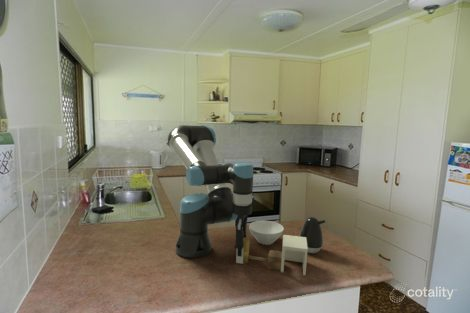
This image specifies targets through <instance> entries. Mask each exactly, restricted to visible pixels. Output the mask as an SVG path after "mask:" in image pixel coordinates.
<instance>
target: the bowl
mask: <svg viewBox="0 0 470 313" xmlns="http://www.w3.org/2000/svg"><path fill="white" fill-rule="evenodd" d="M248 229H249V232H250V234H251V235H252V236H253V238H255V240H256V242H258V243H259V244H261V245H264V244H265V245H266V246H269V245H273V244H274V243H275V242H276V241H277V240H278V239H279V238H280V237H282V236H283V233H284V230H285V228H284V226H283V225H282V224H280V223H278V222H275V221H270V220H256V221H252V222H251V223H250V224H248ZM265 245H264V246H265Z"/></svg>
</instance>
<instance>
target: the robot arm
mask: <svg viewBox="0 0 470 313" xmlns="http://www.w3.org/2000/svg"><path fill="white" fill-rule="evenodd" d="M216 143H217V138H216V132H215V130H214V128H212V127H211V126H210V125H209V126H208V125H204V124H203V125H202V124H201V125H188V124H187V125H186V124H185V125H184V124H183V125H178V126H176V127H174V128H173V129H172V130H171V131H170V132H169V134H168V135H167V145H168V146H169V148H170V149H171V150H172V152H175V154H176V155H177V157H178V158H179V161H180V162H182V165H183V166H184V167H185V169H186V171H185V179H186V182H187V184H188V185H189V186H190V187H194V186H195V187H201V186H206V189H207V194H206V193H203V192H200V193H199V192H197V193H191V194H187V195H186V196H184V197H183V198H181V200H180V203H179V204H180V206H179V233H178V237H177V240H176V242H175V246H174V247H175V249H174V250H175V251H174V252H175V253H176V254H177V256H180V257H182V258H187V259H197V258H202V257H205V256H207V255H208V254H210V253H211V251H212V242H211V241H212V240H211V238H210V236H209V229H208V228H209V225H215V224H221V223H230V222H232V221H235V223H236V224H235V245H234V248H235V249H236V251H235V252H236V255H235V256H236V257H235V259H236V260H235V264H242V265H243V254H244V247H243V240H244V237H246V238H247V226H248V216H250V215H251V214H252V212H253V204H252V203H253V199H254V198H255V197H254V195H253V187H254V166H253V164H252V163H250V162H249V163H248V162H235V163H234V164H233V163H228V162H225V163H222V164H219V162H218V161H217V160H218V159H217V157H216V155H215V152H214V149H215V148H214V147H215V146H216ZM226 184H231V185H232V189H231V187H229V186H227V185H226Z"/></svg>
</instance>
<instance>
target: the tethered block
mask: <svg viewBox="0 0 470 313" xmlns="http://www.w3.org/2000/svg"><path fill="white" fill-rule="evenodd" d="M243 247H244V254H243V264H248V263H249V260H254V261H256V260H257V261H261V262H267V269H269V270H270V269H271V270H276V271H281V261H282V251H279V250H272V249H270V250H269V252H268V254H267V255H268V256H267V257H261V256H254V255H249V254H250V238H249V237H247V236H246V237H244V240H243ZM243 264H242V265H243Z"/></svg>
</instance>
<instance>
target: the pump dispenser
mask: <svg viewBox="0 0 470 313" xmlns="http://www.w3.org/2000/svg"><path fill="white" fill-rule="evenodd" d="M325 223H326V220H325V219H323V220H318V218H316V217H315V216H310V217H309V216H308V218H306V220H305V221H304V223H303V224H302V227H301V228H300V229H301V230H300V231H299V237H306V240H307V248H308V251H307V254H316V253H319V252H320V250H322V247H323V245H324V235H323V229H322V226H321V225H322V224H325Z"/></svg>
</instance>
